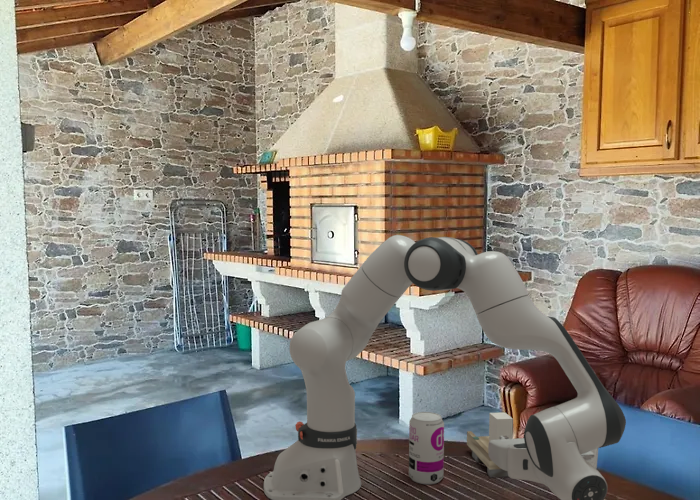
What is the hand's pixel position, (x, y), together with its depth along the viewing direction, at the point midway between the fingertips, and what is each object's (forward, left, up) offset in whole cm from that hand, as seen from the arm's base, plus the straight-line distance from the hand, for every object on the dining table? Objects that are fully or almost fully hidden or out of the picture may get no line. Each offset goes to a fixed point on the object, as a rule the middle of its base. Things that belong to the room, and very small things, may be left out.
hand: (522, 437), depth 140 cm
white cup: (+18, +7, -13) cm, 23 cm away
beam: (0, +18, -13) cm, 22 cm away
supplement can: (-19, +11, -13) cm, 26 cm away
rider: (0, +12, -9) cm, 15 cm away
